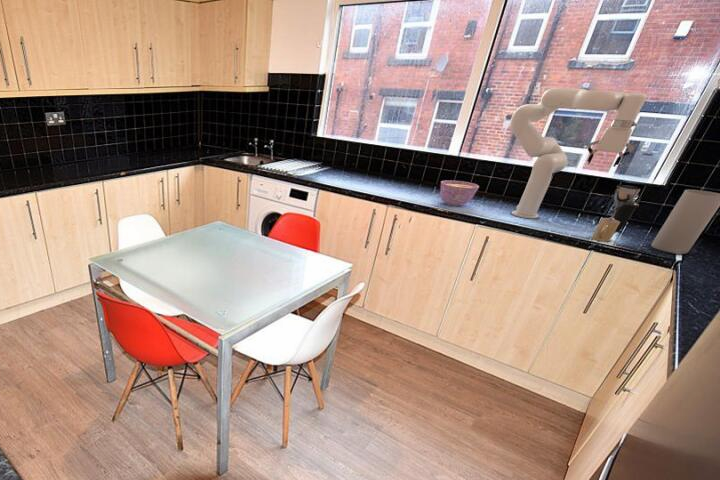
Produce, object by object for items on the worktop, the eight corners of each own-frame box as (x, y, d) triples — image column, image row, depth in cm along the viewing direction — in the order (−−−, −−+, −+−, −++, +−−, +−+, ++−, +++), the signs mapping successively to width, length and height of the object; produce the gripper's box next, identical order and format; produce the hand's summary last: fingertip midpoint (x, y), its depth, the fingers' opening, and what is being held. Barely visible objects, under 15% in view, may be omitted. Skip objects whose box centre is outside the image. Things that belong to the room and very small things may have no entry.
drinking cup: (619, 229, 216) (642, 189, 206) (626, 233, 210) (650, 192, 199) (601, 227, 218) (623, 187, 208) (607, 231, 212) (630, 190, 201)
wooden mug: (593, 235, 206) (603, 217, 201) (611, 239, 201) (621, 221, 196) (587, 239, 200) (598, 221, 195) (606, 243, 195) (617, 224, 190)
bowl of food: (473, 203, 252) (480, 183, 246) (470, 210, 238) (478, 189, 232) (437, 198, 261) (443, 178, 255) (432, 204, 247) (438, 184, 240)
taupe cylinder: (694, 254, 187) (734, 196, 174) (673, 255, 185) (711, 197, 171) (663, 244, 197) (699, 189, 184) (643, 245, 195) (677, 189, 181)
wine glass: (625, 223, 193) (644, 189, 185) (606, 222, 194) (624, 188, 186) (615, 218, 199) (633, 185, 191) (596, 217, 200) (613, 184, 192)
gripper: (646, 126, 188) (624, 166, 198) (597, 122, 198) (579, 161, 207) (647, 127, 183) (624, 168, 193) (597, 123, 193) (578, 163, 202)
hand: (601, 164), depth 200 cm, fingers open, 9 cm apart
